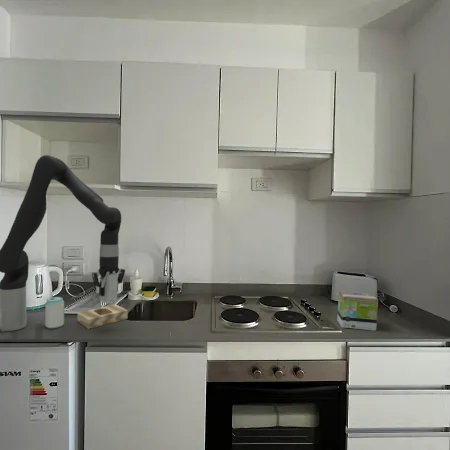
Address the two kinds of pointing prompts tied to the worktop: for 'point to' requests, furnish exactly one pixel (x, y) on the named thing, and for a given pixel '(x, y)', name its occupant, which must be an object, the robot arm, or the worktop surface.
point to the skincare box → (110, 289)
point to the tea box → (357, 310)
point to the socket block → (102, 316)
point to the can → (54, 312)
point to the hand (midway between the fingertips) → (108, 294)
